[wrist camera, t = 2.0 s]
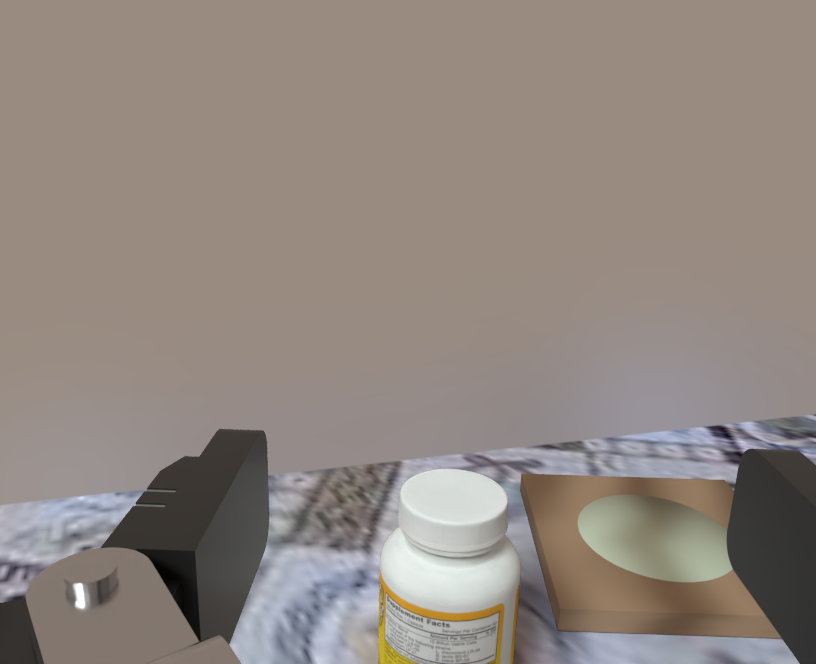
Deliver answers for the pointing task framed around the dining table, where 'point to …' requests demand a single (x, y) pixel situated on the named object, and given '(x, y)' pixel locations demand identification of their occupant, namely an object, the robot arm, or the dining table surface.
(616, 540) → the walnut board
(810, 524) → the robot arm
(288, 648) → the dining table surface
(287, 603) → the dining table surface
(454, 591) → the supplement bottle
